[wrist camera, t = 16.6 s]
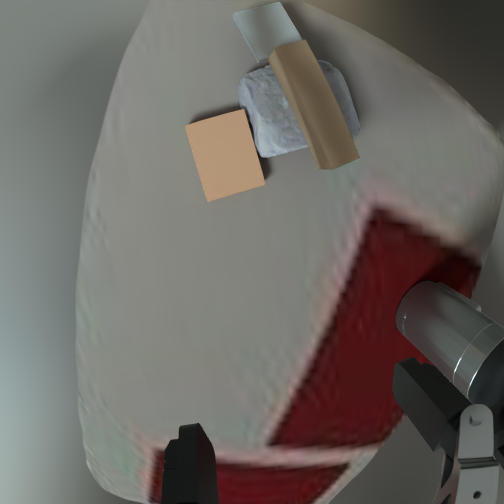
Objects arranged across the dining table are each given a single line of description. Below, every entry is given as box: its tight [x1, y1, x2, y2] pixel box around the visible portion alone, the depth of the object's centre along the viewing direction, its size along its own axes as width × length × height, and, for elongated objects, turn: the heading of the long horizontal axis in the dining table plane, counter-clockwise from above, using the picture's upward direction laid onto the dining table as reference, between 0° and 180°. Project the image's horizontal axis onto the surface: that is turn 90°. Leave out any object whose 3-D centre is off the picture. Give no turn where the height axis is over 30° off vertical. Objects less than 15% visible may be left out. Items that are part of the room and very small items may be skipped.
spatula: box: [233, 2, 360, 170], centre depth 23 cm, size 5×18×4 cm, turn 25°
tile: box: [185, 109, 266, 202], centre depth 28 cm, size 6×2×8 cm
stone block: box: [238, 60, 360, 158], centre depth 28 cm, size 12×5×10 cm
